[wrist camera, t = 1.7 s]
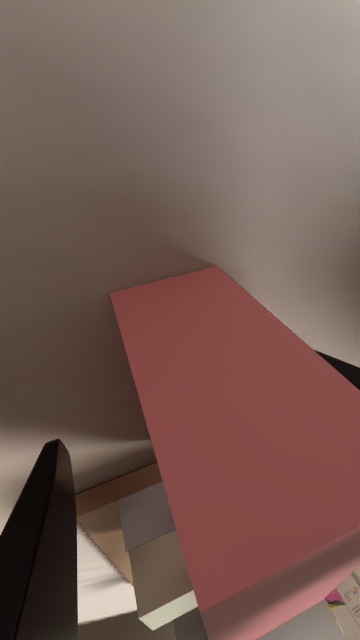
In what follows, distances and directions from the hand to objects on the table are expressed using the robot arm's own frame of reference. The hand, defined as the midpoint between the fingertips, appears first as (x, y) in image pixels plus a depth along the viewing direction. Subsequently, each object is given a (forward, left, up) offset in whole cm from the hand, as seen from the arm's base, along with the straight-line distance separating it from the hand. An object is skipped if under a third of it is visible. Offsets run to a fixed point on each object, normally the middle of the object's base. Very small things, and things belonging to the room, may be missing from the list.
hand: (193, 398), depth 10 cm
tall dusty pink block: (0, 0, -2) cm, 2 cm away
